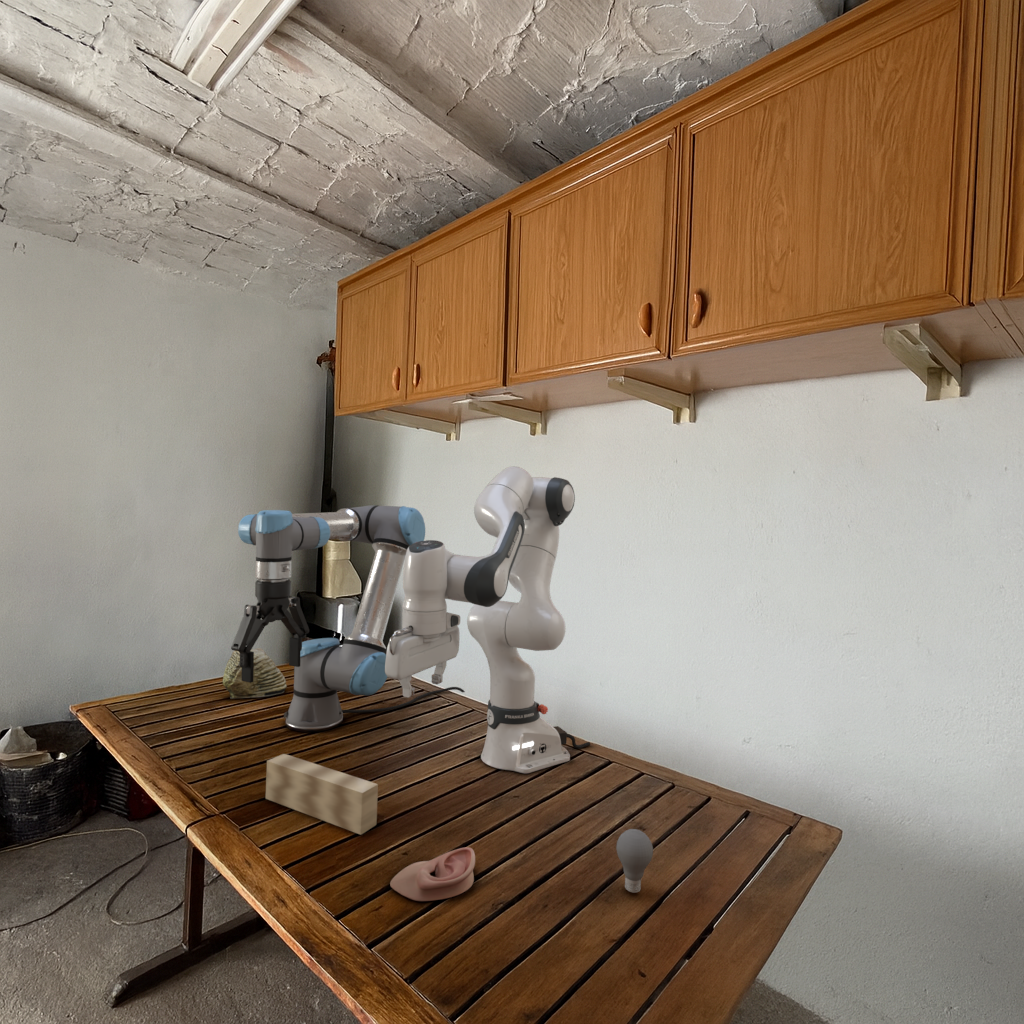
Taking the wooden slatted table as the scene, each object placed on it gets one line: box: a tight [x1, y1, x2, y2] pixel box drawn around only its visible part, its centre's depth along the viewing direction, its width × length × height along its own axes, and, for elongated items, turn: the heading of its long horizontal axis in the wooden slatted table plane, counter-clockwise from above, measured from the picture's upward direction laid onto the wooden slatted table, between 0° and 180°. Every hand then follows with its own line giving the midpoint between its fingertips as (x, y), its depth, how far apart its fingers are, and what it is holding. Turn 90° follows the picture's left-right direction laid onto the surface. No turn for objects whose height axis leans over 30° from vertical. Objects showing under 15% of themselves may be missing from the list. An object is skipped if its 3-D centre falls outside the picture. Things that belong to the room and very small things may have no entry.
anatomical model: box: [389, 846, 476, 902], centre depth 106 cm, size 13×4×12 cm
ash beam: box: [265, 753, 379, 835], centre depth 128 cm, size 26×4×8 cm, turn 62°
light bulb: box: [615, 828, 654, 894], centre depth 106 cm, size 6×6×10 cm
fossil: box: [222, 647, 288, 699], centre depth 198 cm, size 9×18×15 cm, turn 132°
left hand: (272, 673), depth 142 cm, fingers open, 13 cm apart
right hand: (423, 689), depth 128 cm, fingers open, 8 cm apart
